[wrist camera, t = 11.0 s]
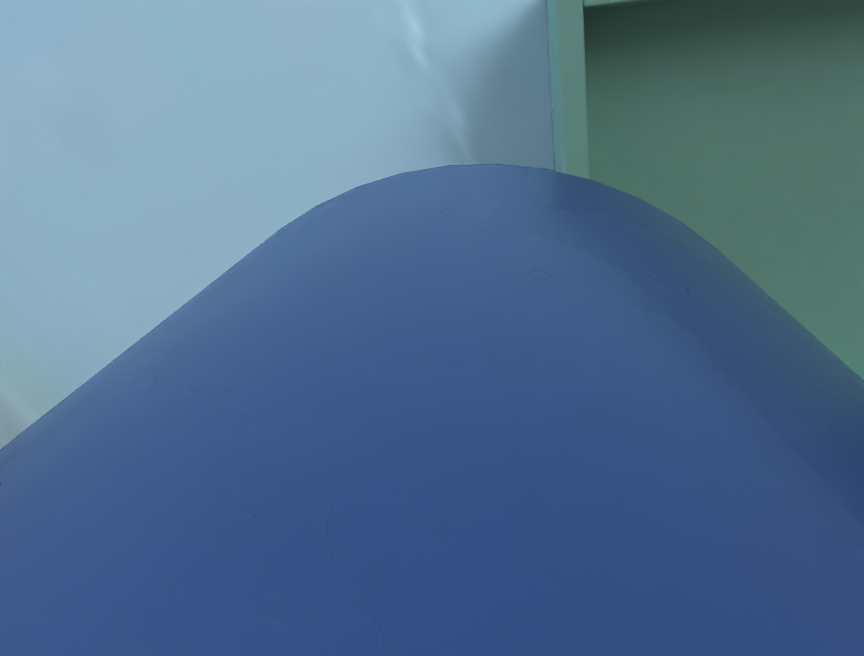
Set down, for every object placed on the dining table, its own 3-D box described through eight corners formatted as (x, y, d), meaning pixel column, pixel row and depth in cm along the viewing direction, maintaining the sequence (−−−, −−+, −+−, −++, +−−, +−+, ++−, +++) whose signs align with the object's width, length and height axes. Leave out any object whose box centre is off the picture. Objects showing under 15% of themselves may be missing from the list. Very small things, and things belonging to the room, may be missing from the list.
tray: (568, 427, 31) (578, 477, 27) (545, -10, 25) (554, -19, 22) (1082, 396, 29) (1166, 444, 25) (1183, -88, 23) (1309, -114, 20)
